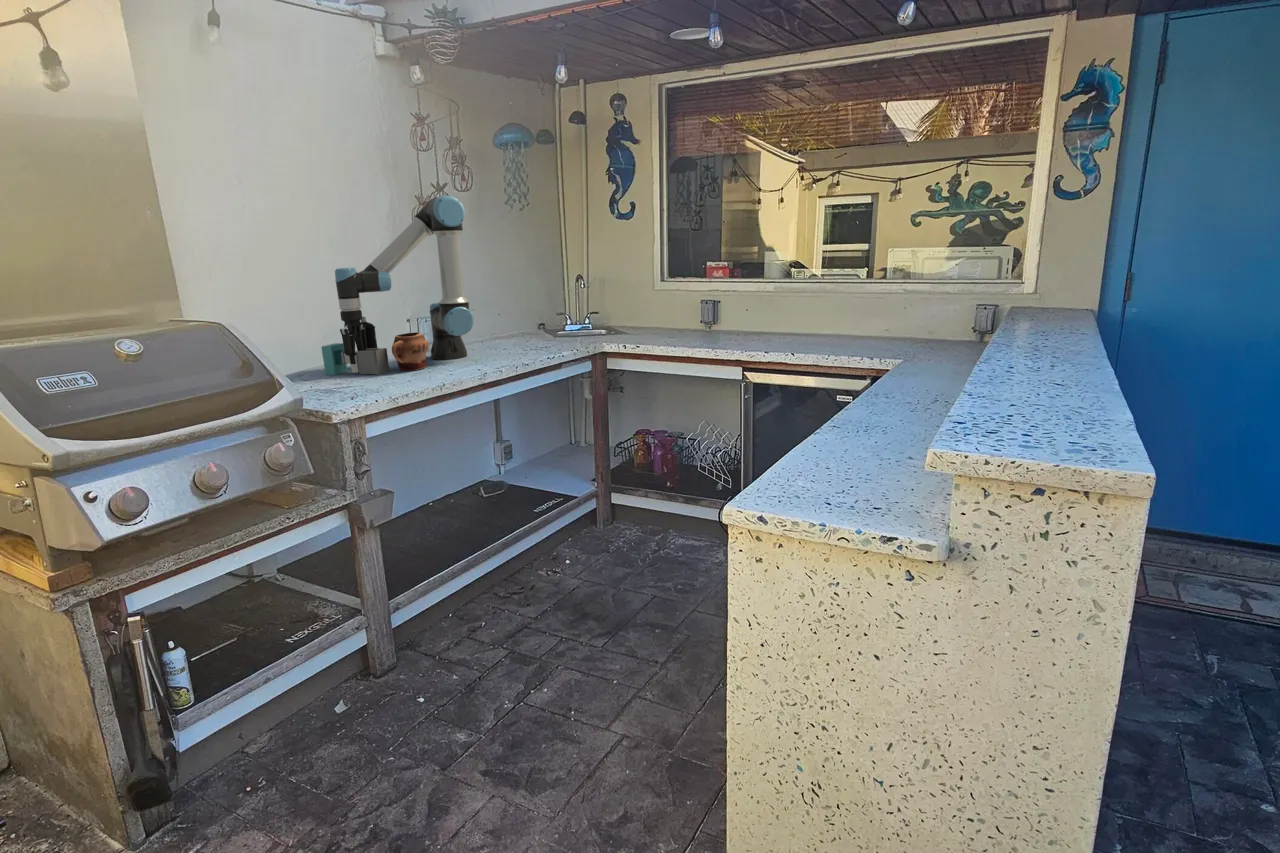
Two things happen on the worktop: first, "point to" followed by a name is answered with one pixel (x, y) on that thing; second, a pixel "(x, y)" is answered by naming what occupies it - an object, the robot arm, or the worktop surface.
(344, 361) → the grey square peg
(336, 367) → the socket block
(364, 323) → the aerosol can
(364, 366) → the sleeve
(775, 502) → the worktop surface
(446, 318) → the robot arm
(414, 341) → the decorative planter
